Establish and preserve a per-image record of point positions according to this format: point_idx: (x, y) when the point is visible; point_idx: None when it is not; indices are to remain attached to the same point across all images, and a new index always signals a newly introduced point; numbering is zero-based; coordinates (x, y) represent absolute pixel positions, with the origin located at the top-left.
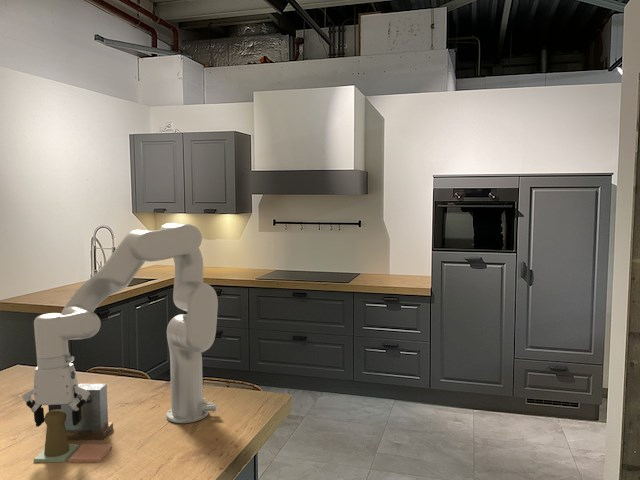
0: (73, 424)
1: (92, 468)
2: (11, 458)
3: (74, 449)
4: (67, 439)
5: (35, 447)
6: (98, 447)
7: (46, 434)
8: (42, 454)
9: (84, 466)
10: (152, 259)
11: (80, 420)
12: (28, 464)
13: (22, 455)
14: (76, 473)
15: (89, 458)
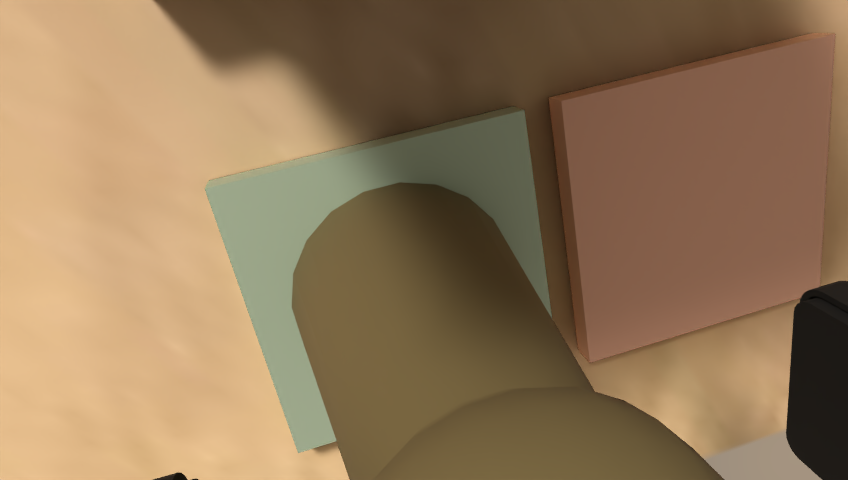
0: (814, 463)
1: (781, 367)
2: (26, 452)
3: (534, 200)
4: (524, 272)
5: (47, 215)
6: (741, 123)
7: None
8: (311, 372)
9: (719, 363)
10: None
11: (837, 284)
12: (284, 471)
13: (78, 382)
14: (708, 445)
15: (744, 310)
